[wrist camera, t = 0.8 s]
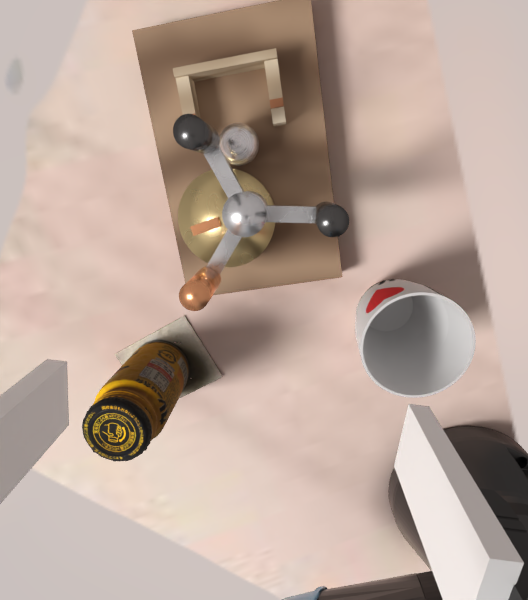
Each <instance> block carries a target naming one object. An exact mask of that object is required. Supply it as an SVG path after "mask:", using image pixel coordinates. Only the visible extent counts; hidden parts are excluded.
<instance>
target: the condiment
mask: <svg viewBox="0 0 528 600" xmlns="http://www.w3.org/2000/svg"><path fill="white" fill-rule="evenodd" d="M174 342H176V343H174ZM178 342H181V344H179V343H178ZM115 356H116V357H117V359H118V360H119V361H120V363H121V364H122V366H121V368H120V369H119V370H118V371H117V372H116V373H115V374H114V375H113V376H112V378H111V379H110V380H109V381H108V382H107V383H106V384H105V385H104V386H103V387H102V389H101V390H100V391H99V393H98V394H97V396H96V399H95V402H94V404H93V405H92V406H91V407H90V409H89V411H87V413H86V416H85V418H84V419H83V425H82V428H83V435H84V438H85V440H86V442H87V443H88V444H89V446H90V447H91V449H92V450H93V452H96V453H97V454H98V455H100V456H101V457H103V458H106V459H109V460H113V461H128V460H132V459H133V458H135V457H137V456H139V455H140V454H142V453H143V451H144V450H146V449H147V446H148V445H149V444H150V441H151V440H152V439H153V438H155V437H156V436H158V434H159V433H160V432H161V431H162V429H163V427H164V425H165V424H166V422H167V420H168V418H169V416H170V414H171V412H172V410H173V408H174V406H175V404H176V403H177V401H178V399H179V398H181V397H183V396H185V395H187V394H189V393H191V392H194V391H195V390H197V389H199V388H201V387H203V386H205V385H207V384H209V383H211V382H213V381H216V380H217V379H219V378H221V377H222V375H221V373H220V372H219V370H218V368H217V366H216V365H215V363H214V362H213V360H212V358H211V357H210V355H209V353H208V352H207V350H206V349H205V347H204V346H203V344H202V342H201V340H200V339H199V338H198V336H197V335H196V333H195V332H194V330H193V328H192V327H191V325H190V324H189V322H188V321H187V319H186V318H185V316H183V317H181V318H179V319H178V320H176V321H174V322H172V323H170V324H169V325H167V326H165V327H163V328H161V329H160V330H158V331H156V332H154V333H152V334H150V335H148V336H146V337H145V338H143V339H141V340H139V341H137V342H136V343H134V344H132V345H130V346H128V347H127V348H125V349H123V350H121V351H119V352H118V353H116V354H115ZM190 378H192V379H190Z"/></svg>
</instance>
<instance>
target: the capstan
mask: <svg viewBox="0 0 528 600" xmlns="http://www.w3.org/2000/svg"><path fill="white" fill-rule="evenodd" d="M173 135H174V138H175V140H176V142H177V143H178V144H179V145H180V146H182V147H183V148H186V149H189V150H192V151H196V152H199V153H202V154H204V156H205V158H206V159H207V161H208V163H209V165H210V167H211V168H212V170H210V171H208V172H205V173H203V174H201V175H200V176H198V177H197V178H196V179H195V180H193V181H192V182H191V183H190V185H189V186H188V187H187V188H186V190H185V191H184V193H183V195H182V197H181V200H180V203H179V208H178V224H179V229H180V232H181V235H182V238H183V240H184V242H185V243H186V245H187V246H188V248H189V249H190V250H191V251H192V252H193V253H194V254H195V255H196V256H197V257H199V258H200V259H201V260H203V261H205V262H207V263H208V265H207V266H206V267H203V268H201V269H200V270H199V271H198V272H197V273H196V274H195V275H194V276H193V277H192V278H191V279H190V280H189V281H188V282H187V283H186V284H185V285H184V286H183V287H182V288H181V290H180V292H179V299H180V302H181V304H182V305H183V306H184V307H185V308H186V309H188V310H191V311H198V310H201V309H203V308H204V307H205V306H206V305H207V303H208V302H209V300H210V299H211V297H212V296H213V294H214V293H215V291H216V290H217V288H218V287H219V285H220V283H221V276H220V274H221V272H222V271H223V269H224V267H237V266H241V265H244V264H247V263H249V262H251V261H252V260H254V259H255V258H257V257H258V256H259V255H260V254H261V253H262V252H263V251H264V250H265V248H266V247H267V246H268V244H269V242H270V240H271V238H272V235H273V232H274V228H275V222H281V223H315V224H316V225H317V227H318V229H319V230H320V232H321V233H322V234H323V235H325V236H327V237H338V236H340V235H342V234H343V233H344V232H345V231H346V230H347V228H348V225H349V216H348V214H347V212H346V211H345V210H344V209H343V208H342V207H340V206H338V205H336V204H334V203H332V202H329V201H324V202H321V203H319V204H318V205H317V206H286V205H274V203H273V200H272V197H271V195H270V194H269V192H268V190H267V189H266V187H265V186H264V185H263V184H262V183H261V182H260V181H259V180H258V179H257V178H255V177H254V176H252V175H250V174H249V173H246V172H244V171H241V170H237V169H232V168H231V166H230V164H229V163H228V161H227V159H226V157H225V155H224V153H223V152H222V150H221V148H220V146H219V143H220V138H219V134H218V132H217V131H216V130H215V129H214V128H213V127H212V126H210V125H209V124H207V123H206V122H204V121H203V120H202V119H200V118H199V117H197V116H196V115H193V114H184V115H181V116H180V117H179V118H178V119H177V120H176V121H175V123H174V126H173Z"/></svg>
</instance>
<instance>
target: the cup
mask: <svg viewBox="0 0 528 600" xmlns="http://www.w3.org/2000/svg"><path fill="white" fill-rule="evenodd" d="M355 335H356V340H357V344H358V348H359V352H360V356H361V360H362V363H363V366H364V368H365V370H366V372H367V374H368V375H369V377H370V378H371V379H372V380H373V381H374V382H375V383H376V384H377V385H378V386H379V387H381V388H382V389H384V390H385V391H387V392H389V393H392V394H395V395H398V396H402V397H411V398H416V397H425V396H430V395H433V394H436V393H439V392H441V391H443V390H445V389H447V388H448V387H450V386H451V385H453V384H454V383H455V382H456V381H457V380H458V379H459V378H460V377H461V376H462V375H463V374H464V373H465V371H466V370H467V368H468V367H469V365H470V363H471V361H472V358H473V355H474V351H475V343H476V340H475V331H474V327H473V325H472V322H471V320H470V318H469V316H468V315H467V314H466V312H465V311H464V310H463V309H462V308H461V307H460V306H459V305H458V304H457V303H455V302H454V301H452V300H450V299H449V298H447V297H445V296H443V295H441V294H440V293H438V292H436V291H434V290H433V289H431V288H429V287H427V286H425V285H422V284H418V283H414V282H410V281H406V280H401V279H391V280H385V281H382V282H379V283H377V284H375V285H373V286H372V287H370V288H369V289H368V290H367V291H366V292H365V293H364V295H363V296H362V298H361V299H360V301H359V303H358V306H357V309H356V321H355Z"/></svg>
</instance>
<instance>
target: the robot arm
mask: <svg viewBox="0 0 528 600" xmlns="http://www.w3.org/2000/svg"><path fill="white" fill-rule="evenodd" d="M68 425H69V414H68V378H67V362H66V361H58V360H50V359H47V360H45V361H44V362H43V363H42V364H40V365H39V366H38V367H36V368H35V369H34V370H33V371H31V372H30V373H29V374H27V375H26V376H25V377H24V378H22V379H21V380H20V381H19V382H17V383H16V384H15V385H13V386H12V387H11V388H10V389H8V390H7V391H6V392H4V393H3V394H2V395H1V396H0V504H1V503H2V501H3V500H4V499H5V498H6V497H7V496H8V495H9V493H10V492H11V491H12V490H13V489H14V488H15V486H16V485H17V484H18V483H19V482H20V481H21V480H22V478H23V477H24V476H25V475H26V474H27V473H28V471H29V470H30V469H31V468H32V467H33V466H34V464H35V463H36V462H37V461H38V460H39V459H40V458H41V456H42V455H43V454H44V453H45V452H46V451H47V449H48V448H49V447H50V446H51V445H52V444H53V442H54V441H55V440H56V439H57V438H58V437H59V435H60V434H61V433H62V432H63V431H64V430H65V429H66V427H67V426H68ZM394 467H395V468H394V470H393V472H392V475H391V478H390V482H389V501H390V505H391V508H392V512H393V515H394V518H395V521H396V523H397V526H398V528H399V530H400V531H401V533H402V535H403V536H404V538H405V539H406V540H407V541H408V543H409V544H410V545H411V546H412V548H413V549H414V550H415V551H416V553H417V554H418V555H419V556H420V558H421V559H422V560H423V561H424V562H425V564H426V565H427V566H428V567H429V569H430V570H431V571H430V572H424V573H418V574H416V573H415V574H410V575H404V576H399V577H393V578H388V579H382V580H377V581H371V582H366V583H360V584H355V585H349V586H344V587H338V588H331V589H327V588H326V587H325V586H322V587H318V588H317V589H316V590H315V591H312V592H308V593H304V594H300V595H296V596H291V597H287V598H284V599H282V600H528V454H527V453H526V451H525V450H524V449H523V448H522V447H521V446H520V445H519V444H518V443H517V442H515V441H514V440H513V439H511V438H510V437H508V436H506V435H504V434H502V433H500V432H497V431H494V430H491V429H487V428H482V427H471V426H464V427H454V428H449V429H445V430H443V429H442V427H441V425H440V424H439V422H438V420H437V419H436V417H435V415H434V414H433V412H432V410H431V409H430V407H429V406H421V405H413V404H409V405H408V409H407V413H406V417H405V421H404V426H403V430H402V434H401V438H400V442H399V447H398V451H397V455H396V459H395V464H394Z"/></svg>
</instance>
